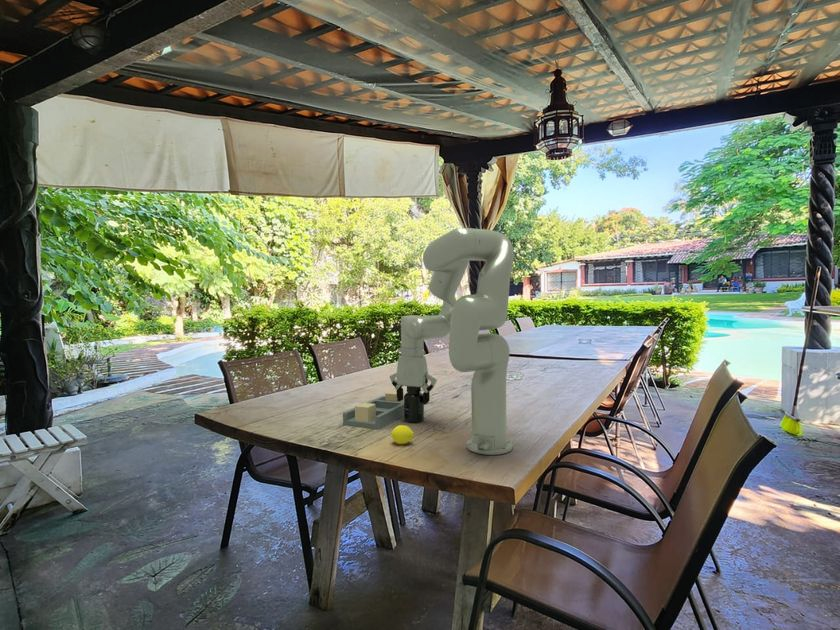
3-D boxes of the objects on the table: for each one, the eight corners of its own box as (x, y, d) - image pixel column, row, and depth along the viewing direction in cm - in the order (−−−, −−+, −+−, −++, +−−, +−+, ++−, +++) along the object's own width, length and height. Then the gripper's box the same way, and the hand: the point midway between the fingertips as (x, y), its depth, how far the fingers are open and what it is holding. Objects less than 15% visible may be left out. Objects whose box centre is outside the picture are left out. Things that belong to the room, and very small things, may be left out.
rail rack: (379, 429, 142) (378, 409, 142) (343, 424, 148) (342, 405, 148) (415, 409, 165) (414, 392, 165) (382, 406, 171) (382, 389, 171)
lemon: (389, 447, 127) (386, 428, 127) (395, 441, 132) (392, 423, 132) (412, 446, 125) (409, 427, 124) (418, 440, 130) (415, 421, 130)
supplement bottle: (400, 422, 149) (400, 387, 149) (408, 417, 156) (408, 383, 155) (420, 424, 147) (419, 388, 146) (427, 418, 153) (426, 384, 152)
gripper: (384, 352, 150) (385, 402, 152) (431, 355, 143) (431, 407, 144) (395, 349, 157) (395, 397, 158) (440, 352, 150) (440, 402, 151)
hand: (412, 402), depth 151 cm, fingers open, 9 cm apart
